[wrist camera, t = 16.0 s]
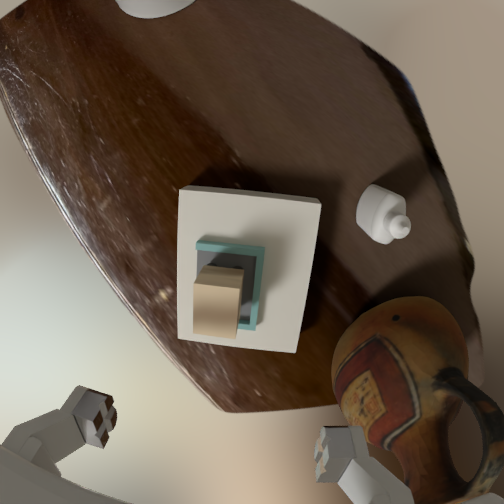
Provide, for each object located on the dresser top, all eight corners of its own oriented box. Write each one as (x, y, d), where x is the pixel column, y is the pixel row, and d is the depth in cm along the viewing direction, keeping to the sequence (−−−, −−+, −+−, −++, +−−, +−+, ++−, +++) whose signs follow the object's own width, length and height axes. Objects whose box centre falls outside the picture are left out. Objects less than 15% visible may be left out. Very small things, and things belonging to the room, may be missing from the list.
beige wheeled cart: (206, 260, 37) (193, 283, 31) (245, 264, 37) (239, 288, 31) (204, 304, 39) (192, 333, 33) (241, 309, 39) (235, 339, 33)
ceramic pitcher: (307, 378, 47) (321, 554, 19) (361, 266, 41) (464, 448, 13) (404, 395, 48) (455, 534, 20) (463, 300, 42) (573, 429, 13)
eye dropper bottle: (343, 207, 39) (370, 233, 27) (375, 178, 37) (414, 193, 26) (364, 232, 39) (396, 266, 28) (395, 204, 38) (437, 228, 27)
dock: (188, 185, 39) (176, 191, 34) (316, 198, 38) (323, 206, 33) (185, 323, 45) (175, 343, 41) (294, 336, 45) (295, 358, 40)
